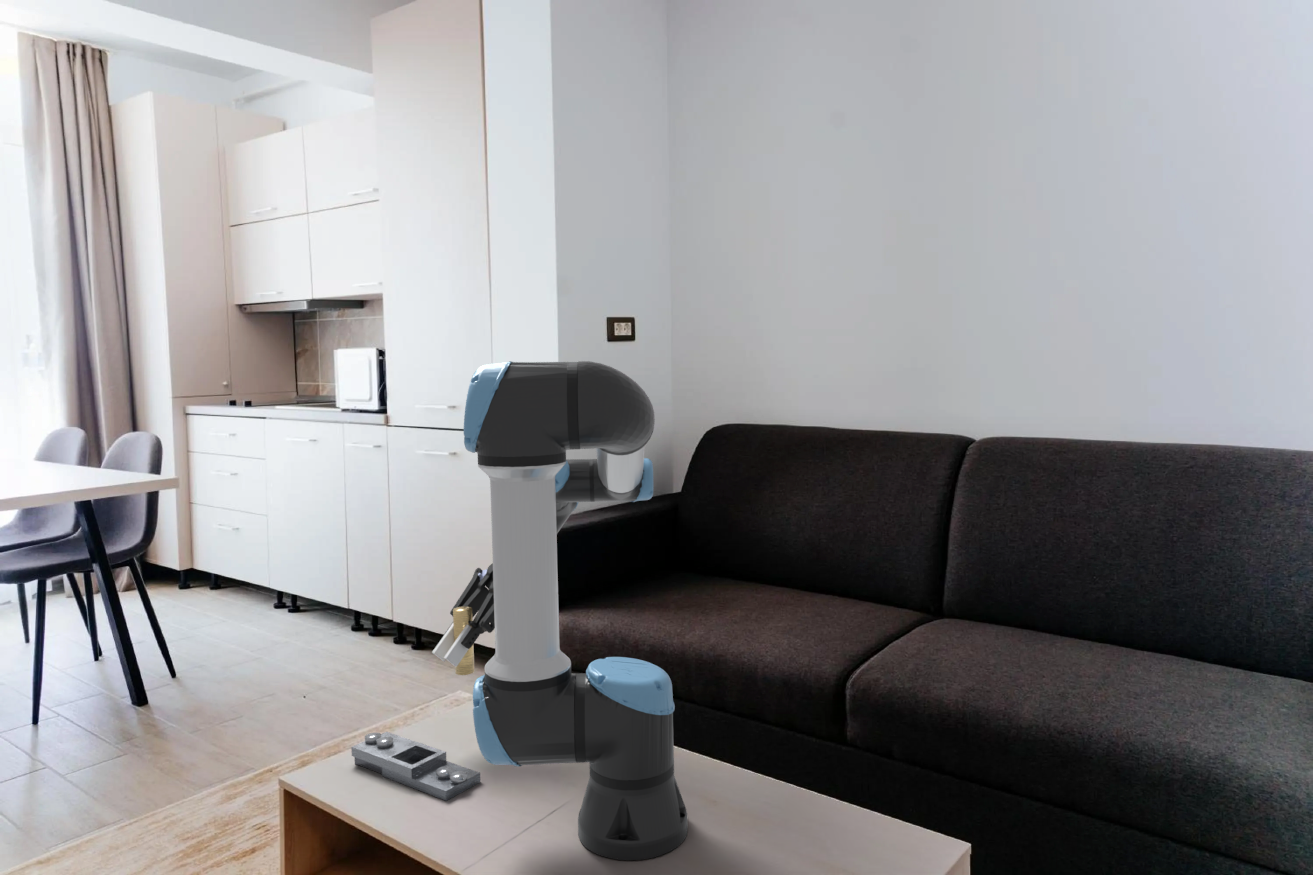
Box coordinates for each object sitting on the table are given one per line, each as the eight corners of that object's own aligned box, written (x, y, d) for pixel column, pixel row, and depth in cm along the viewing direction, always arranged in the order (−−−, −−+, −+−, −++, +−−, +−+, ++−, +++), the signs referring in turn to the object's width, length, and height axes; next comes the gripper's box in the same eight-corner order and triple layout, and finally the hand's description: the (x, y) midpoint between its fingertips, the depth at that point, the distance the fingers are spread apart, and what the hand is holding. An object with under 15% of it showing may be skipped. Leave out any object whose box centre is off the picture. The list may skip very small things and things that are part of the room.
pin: (477, 672, 150) (475, 609, 149) (460, 676, 148) (457, 612, 148) (469, 667, 153) (467, 605, 152) (452, 671, 151) (449, 608, 150)
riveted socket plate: (481, 782, 136) (481, 758, 135) (447, 801, 130) (446, 776, 130) (386, 748, 148) (385, 726, 148) (350, 764, 143) (349, 741, 142)
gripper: (562, 566, 154) (484, 682, 144) (509, 553, 166) (434, 659, 156) (537, 540, 150) (455, 658, 140) (484, 529, 162) (405, 637, 152)
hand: (444, 659), depth 148 cm, fingers closed on pin, 3 cm apart
